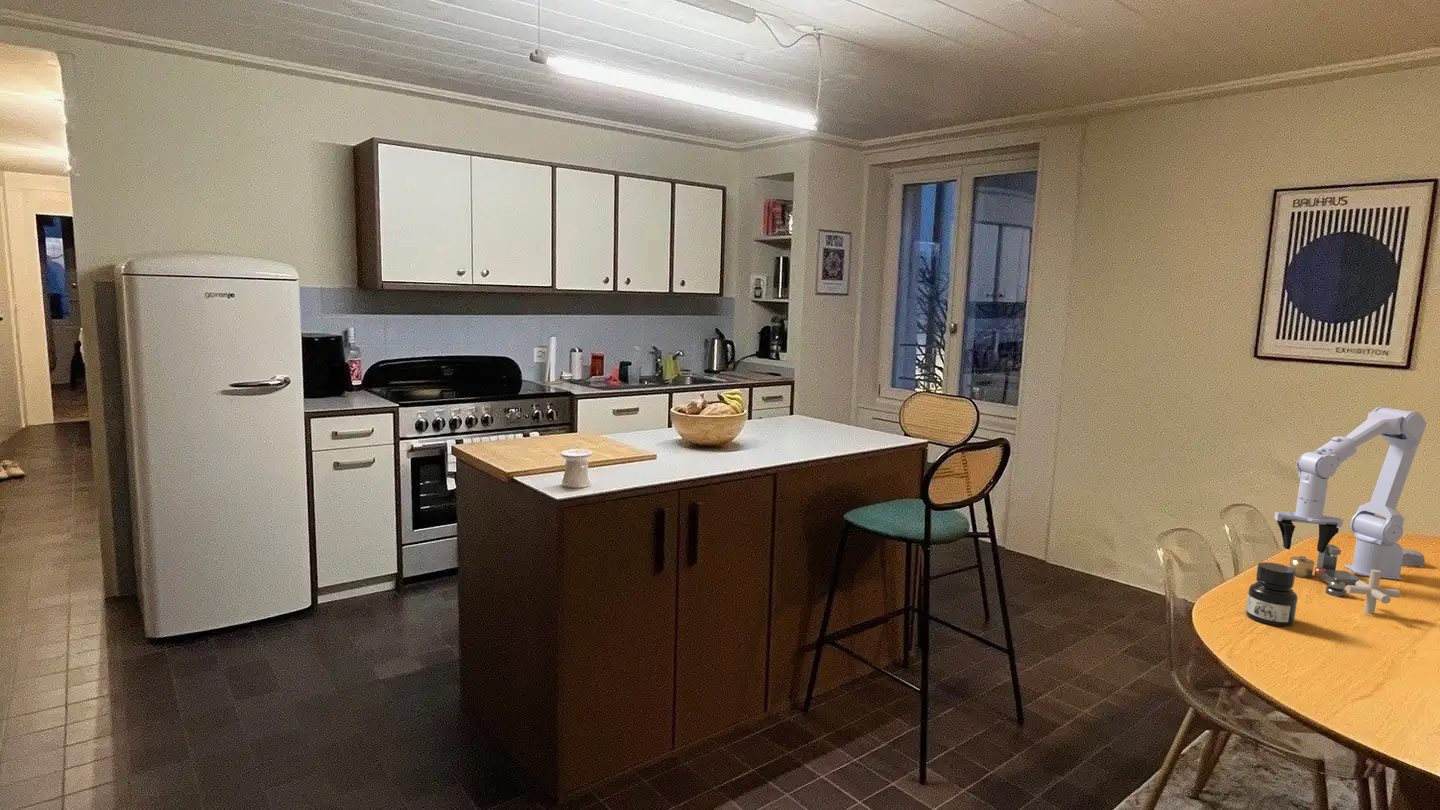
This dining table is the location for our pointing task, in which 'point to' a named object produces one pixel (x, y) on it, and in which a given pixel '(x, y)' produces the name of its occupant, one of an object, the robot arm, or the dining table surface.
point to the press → (1334, 565)
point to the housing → (1302, 566)
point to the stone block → (1412, 558)
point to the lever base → (1336, 592)
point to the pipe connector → (1373, 591)
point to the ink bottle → (1272, 595)
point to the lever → (1329, 579)
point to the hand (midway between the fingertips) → (1303, 550)
